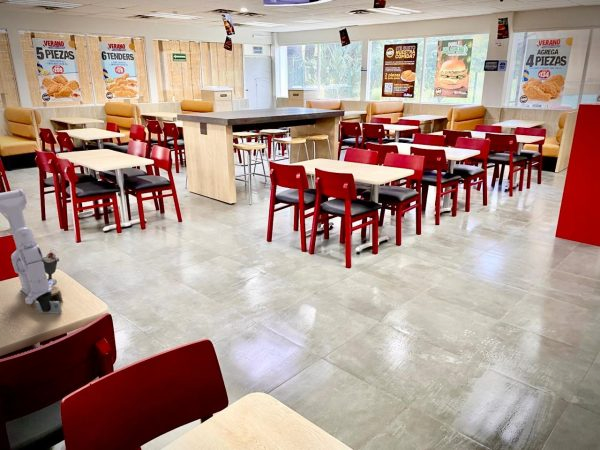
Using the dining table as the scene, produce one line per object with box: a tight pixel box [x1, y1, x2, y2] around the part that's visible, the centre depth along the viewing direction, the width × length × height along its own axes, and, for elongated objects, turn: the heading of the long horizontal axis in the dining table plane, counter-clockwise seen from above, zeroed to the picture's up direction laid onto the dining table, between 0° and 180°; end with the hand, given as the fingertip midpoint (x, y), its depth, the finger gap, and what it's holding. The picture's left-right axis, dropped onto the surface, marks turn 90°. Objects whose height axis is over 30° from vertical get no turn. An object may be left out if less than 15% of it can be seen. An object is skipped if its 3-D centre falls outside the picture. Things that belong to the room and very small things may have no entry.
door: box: [35, 301, 63, 314], centre depth 169 cm, size 2×9×5 cm, turn 86°
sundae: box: [42, 250, 60, 283], centre depth 190 cm, size 7×7×15 cm
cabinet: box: [25, 285, 64, 312], centre depth 176 cm, size 9×9×5 cm
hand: (47, 310), depth 168 cm, fingers closed, pressing on door
